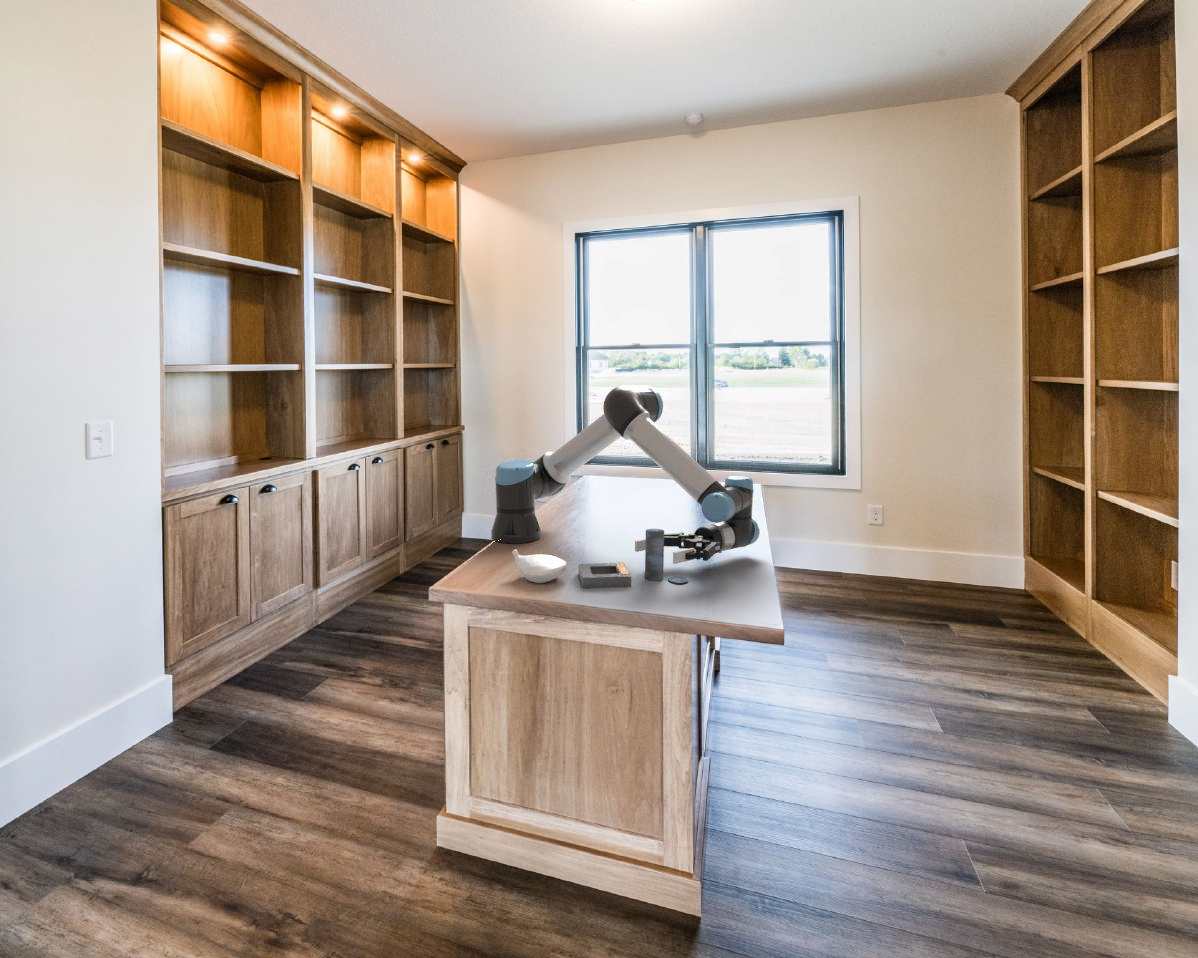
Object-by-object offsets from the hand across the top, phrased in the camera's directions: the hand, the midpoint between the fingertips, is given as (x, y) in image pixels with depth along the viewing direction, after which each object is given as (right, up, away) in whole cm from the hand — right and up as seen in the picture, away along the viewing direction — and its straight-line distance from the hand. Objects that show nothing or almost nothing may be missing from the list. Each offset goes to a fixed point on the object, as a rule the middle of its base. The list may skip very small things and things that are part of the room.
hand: (654, 552), depth 158 cm
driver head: (-28, -7, 0) cm, 29 cm away
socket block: (-12, -7, 0) cm, 14 cm away
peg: (0, -7, +2) cm, 7 cm away
